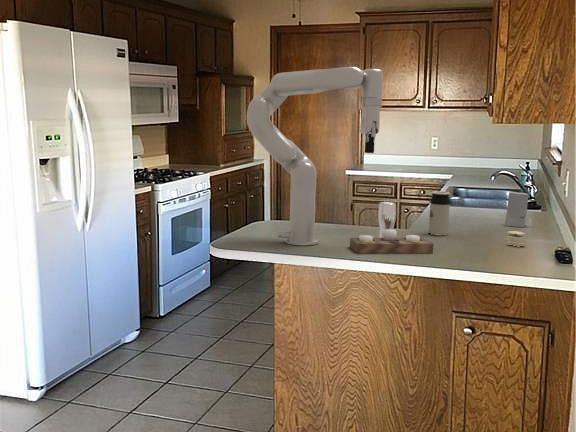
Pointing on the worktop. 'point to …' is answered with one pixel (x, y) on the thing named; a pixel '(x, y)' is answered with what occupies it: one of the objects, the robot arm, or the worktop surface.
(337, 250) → the worktop surface
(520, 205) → the skincare box
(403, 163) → the worktop surface
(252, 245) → the worktop surface
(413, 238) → the button right
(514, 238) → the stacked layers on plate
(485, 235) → the worktop surface
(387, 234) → the button middle
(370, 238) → the button left
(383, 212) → the beer glass
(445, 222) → the travel mug
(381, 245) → the button board
